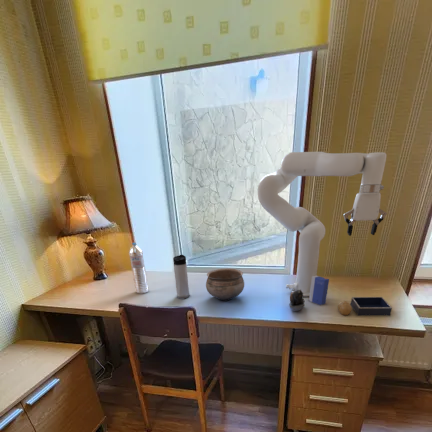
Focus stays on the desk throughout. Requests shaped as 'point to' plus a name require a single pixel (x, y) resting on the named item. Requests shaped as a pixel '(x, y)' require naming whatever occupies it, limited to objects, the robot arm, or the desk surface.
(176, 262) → the travel mug
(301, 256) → the robot arm
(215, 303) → the desk surface
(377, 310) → the square open-top storage box
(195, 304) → the desk surface
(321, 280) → the walkman
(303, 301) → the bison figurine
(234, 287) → the cooking pot
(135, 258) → the water bottle
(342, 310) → the potato
